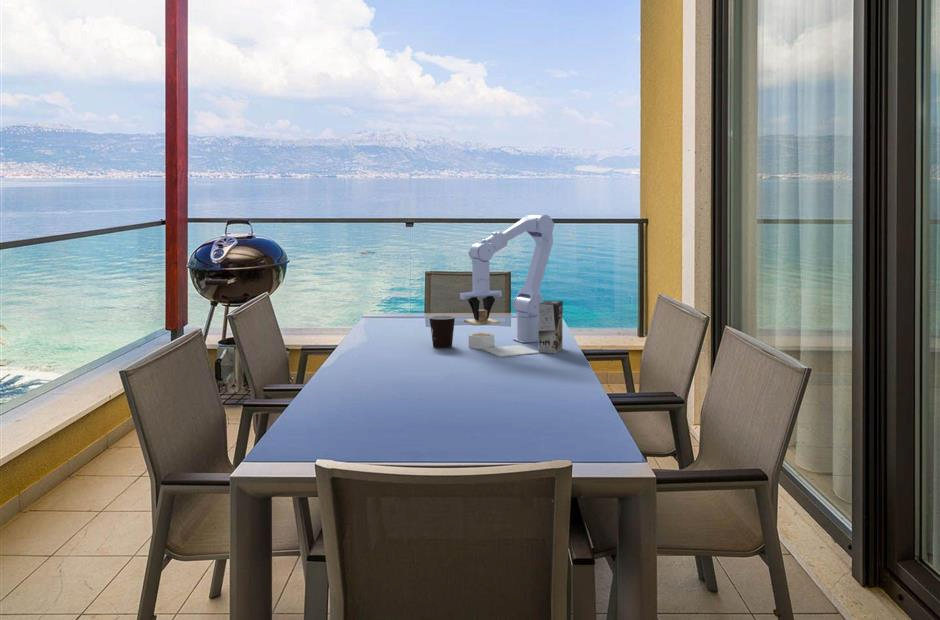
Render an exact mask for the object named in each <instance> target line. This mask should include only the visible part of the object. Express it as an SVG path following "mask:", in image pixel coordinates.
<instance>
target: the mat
mask: <svg viewBox="0 0 940 620" xmlns="http://www.w3.org/2000/svg"><path fill="white" fill-rule="evenodd" d="M481 350H482V351H484V352H488V354H492V355H493V356H497V357H499V358H506V357H516V356H517V357H518V356H524V355H525V356H527V355H537V354H540V352H538V350H534V349H532V348H529V347H526V346H524V345H521V344H516V345H515V344H514V345H504V346H494V347H492V348H482V349H481Z"/></svg>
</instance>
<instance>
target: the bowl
mask: <svg viewBox="0 0 940 620" xmlns="http://www.w3.org/2000/svg"><path fill="white" fill-rule="evenodd" d="M468 347H469V348H471V349H477V350H482V348H492V347H495V334H493V333H490V332H473V333H469V334H468Z"/></svg>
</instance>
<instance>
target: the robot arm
mask: <svg viewBox="0 0 940 620" xmlns="http://www.w3.org/2000/svg"><path fill="white" fill-rule="evenodd" d="M554 228H555V223H554V221H553V219H552V217H551V216H549V215H547V214H527V215H525V216H523V217H522V218H521V219H519V220H518V221H517V222H515V223H514V224H513V225H511V226H510V227H508V228H507V229H506V230H504V231H503V232H501V231H493V232H491V235H489V237H487V238H483V239H481V241H480V242H475V243H473V244H472V245H471V247H470V249H469V251H468V256H469V258H470V259H471V265H472V267H471V269H472V271H471V273H472V274H471V275H472V278H471V279H472V291H469V292H460V293H459V295H460V296H459V297H460V298H459V299H460V300H463V301H464V300H467V302H468V304H469V306H470V309H471V311H472V314H473V319H475V320H479V310H480V303H481V301H480V300H479V299H481V300H482V302H483V309H484V310H487V319H488V318H490V317H489V316H490V315H491V314H490V313H491V310H492V308H493V305H494V304H495V302H496V301H495V300H496V298H497V297H498V298H501V297H503V294H502V293H503V292H502V290H490V288H491V287H490V280H491V279H490V260H491V259H492V258H493V256H494V255H495V254H496V253H497V252H499V251H501V250H503V249H504V248H506V247H507V246H508V242H509V241H511V240H513V239H514V238H516V237H517V236H519V235H522V234H523V233H525V232H526V233H527V234H528V235H529V236H530V237H531V238H532V239H533V241H534V242H535V247H534V250H533V254H532V257H531V261H530V264H529V268H528V271H527V274H526V278H525V281H524V282H525V283H524V285H523V287H521V288H520V289H519V290H518V292H517V294H516V296H515V298H514V299H513V302H512V308H513V310H514V311H515V315H516V337H512V339H511V340H513V341H517V342H518V343H519V342H520V343H522V344H524V343H525V344H526V343H534V342H538V339H539V304H540V303H542V302H543V297H544V296H543V295H542V293H541V291H540V290H541V285H542V282H543V278H544V275H545V271H546V268H547V264H548V261H549V257H550V253H551V251H552V248H553V243H554V238H553V237H554V236H553V234H554V233H553V231H554Z"/></svg>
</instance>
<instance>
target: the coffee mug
mask: <svg viewBox="0 0 940 620" xmlns="http://www.w3.org/2000/svg"><path fill="white" fill-rule="evenodd" d="M428 317H429V324H430V325H429V326H430V334H431V340H432V341H431V342H432V347H433V348H434V349H449V348H452V347H453V341H454V340H453V339H454V329H455V321H456V320H455V319H456V317H455V316H453V315H441V314H440V315H432V316H428Z"/></svg>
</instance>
